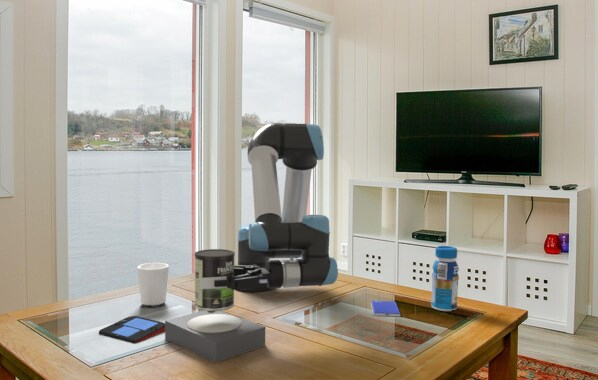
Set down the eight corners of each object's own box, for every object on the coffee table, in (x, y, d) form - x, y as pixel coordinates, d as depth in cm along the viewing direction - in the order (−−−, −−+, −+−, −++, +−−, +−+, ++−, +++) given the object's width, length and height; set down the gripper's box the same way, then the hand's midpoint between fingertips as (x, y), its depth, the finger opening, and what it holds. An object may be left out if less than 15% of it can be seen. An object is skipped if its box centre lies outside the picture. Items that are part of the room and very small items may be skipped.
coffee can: (242, 304, 139) (242, 251, 138) (216, 314, 130) (216, 258, 129) (212, 297, 144) (212, 247, 143) (186, 307, 136) (186, 253, 135)
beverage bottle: (425, 305, 174) (427, 245, 172) (447, 303, 177) (450, 244, 175) (440, 312, 166) (442, 250, 164) (462, 310, 169) (465, 249, 167)
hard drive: (371, 300, 175) (374, 312, 162) (395, 301, 174) (400, 313, 162) (370, 305, 175) (373, 317, 163) (395, 305, 174) (400, 318, 162)
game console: (97, 335, 143) (97, 327, 143) (132, 321, 154) (132, 314, 154) (135, 345, 136) (135, 337, 136) (169, 330, 147) (169, 323, 147)
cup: (139, 310, 163) (139, 270, 162) (135, 301, 172) (135, 263, 171) (171, 307, 167) (171, 267, 166) (166, 298, 176) (166, 261, 175)
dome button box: (165, 338, 140) (165, 316, 139) (213, 324, 151) (213, 304, 151) (216, 363, 125) (216, 338, 124) (265, 345, 136) (265, 322, 136)
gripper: (271, 252, 152) (194, 255, 146) (292, 269, 131) (203, 274, 124) (271, 277, 153) (194, 281, 147) (292, 298, 131) (203, 305, 125)
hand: (198, 278), depth 136 cm, fingers closed on coffee can, 10 cm apart
